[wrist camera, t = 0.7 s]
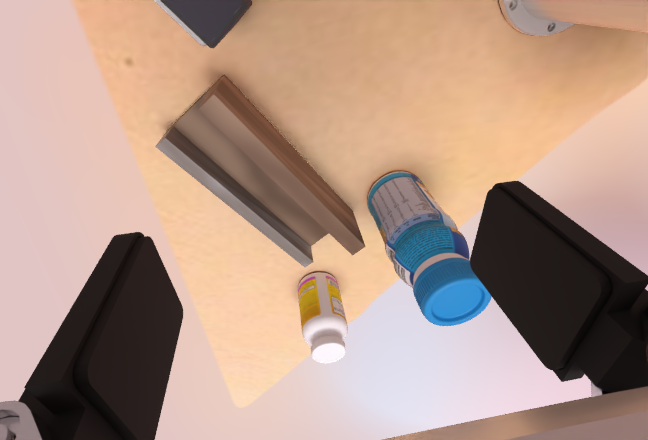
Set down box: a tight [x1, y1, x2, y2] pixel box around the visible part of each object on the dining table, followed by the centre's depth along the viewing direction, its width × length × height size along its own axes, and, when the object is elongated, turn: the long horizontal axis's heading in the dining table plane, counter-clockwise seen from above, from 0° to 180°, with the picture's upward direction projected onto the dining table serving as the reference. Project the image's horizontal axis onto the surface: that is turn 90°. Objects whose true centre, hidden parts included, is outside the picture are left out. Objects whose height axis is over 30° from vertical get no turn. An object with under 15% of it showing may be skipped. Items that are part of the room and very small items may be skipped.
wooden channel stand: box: [156, 75, 365, 267], centre depth 40 cm, size 10×24×8 cm, turn 38°
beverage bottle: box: [367, 171, 491, 326], centre depth 39 cm, size 8×8×20 cm
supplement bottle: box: [298, 272, 348, 363], centre depth 51 cm, size 7×7×13 cm
